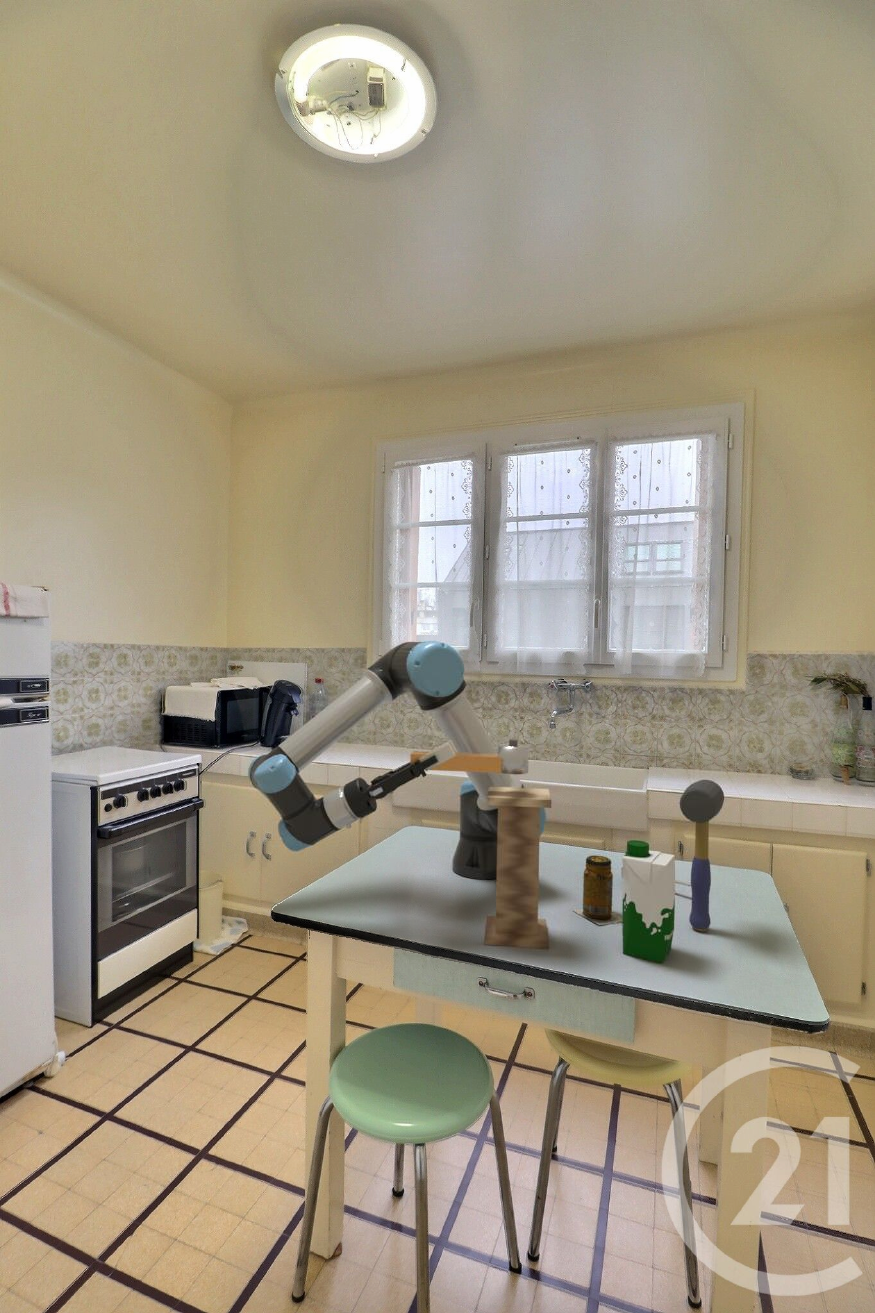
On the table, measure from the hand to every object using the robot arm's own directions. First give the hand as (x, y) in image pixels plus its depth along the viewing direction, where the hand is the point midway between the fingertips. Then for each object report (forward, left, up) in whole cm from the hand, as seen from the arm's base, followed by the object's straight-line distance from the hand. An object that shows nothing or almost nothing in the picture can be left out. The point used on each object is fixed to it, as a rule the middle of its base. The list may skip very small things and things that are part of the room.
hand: (452, 748), depth 129 cm
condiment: (-33, +4, -37) cm, 50 cm away
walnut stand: (-12, +6, -36) cm, 39 cm away
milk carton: (-31, +21, -37) cm, 53 cm away
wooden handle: (-3, +2, -4) cm, 5 cm away
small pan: (-56, -4, -37) cm, 67 cm away
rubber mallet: (-48, +17, -37) cm, 63 cm away
